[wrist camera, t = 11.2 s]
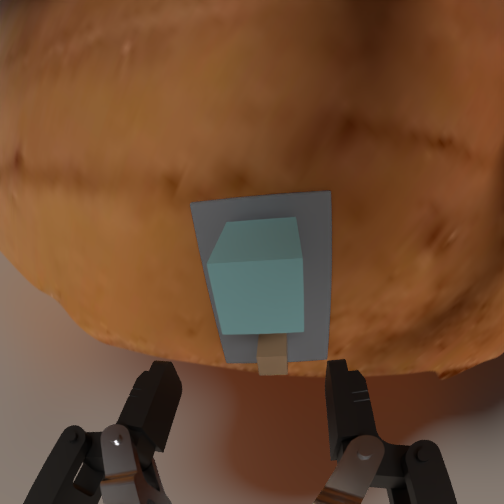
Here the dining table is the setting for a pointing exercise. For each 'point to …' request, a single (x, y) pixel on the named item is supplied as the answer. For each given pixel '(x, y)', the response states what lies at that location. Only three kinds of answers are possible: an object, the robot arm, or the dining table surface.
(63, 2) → the dining table surface
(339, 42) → the dining table surface
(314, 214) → the stand
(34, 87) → the dining table surface
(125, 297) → the dining table surface
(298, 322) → the teal rectangular block
